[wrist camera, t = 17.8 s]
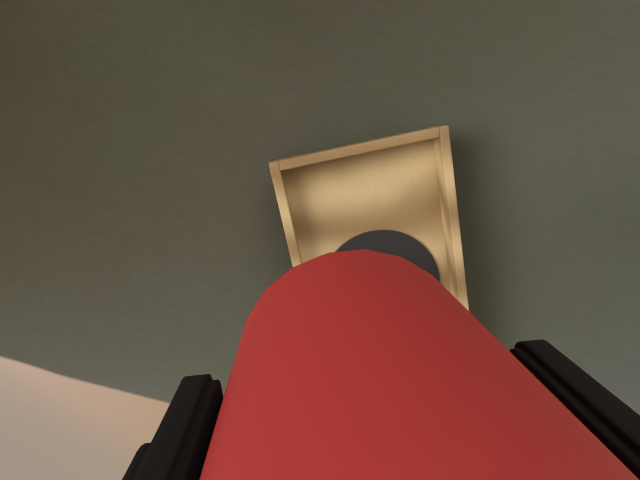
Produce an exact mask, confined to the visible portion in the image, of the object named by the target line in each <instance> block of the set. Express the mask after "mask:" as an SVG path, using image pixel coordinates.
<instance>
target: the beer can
mask: <svg viewBox="0 0 640 480" xmlns="http://www.w3.org/2000/svg"><path fill="white" fill-rule="evenodd" d="M200 480H639V479H638V478H637V477H636V476H635V475H634V474H633V473H632V472H631V471H630V470H629V469H628V468H627V467H626V466H625V465H624V464H623V463H622V462H621V461H620V460H619V459H618V458H617V457H616V456H615V455H614V454H613V453H612V452H611V451H610V450H609V449H608V448H607V447H606V446H605V445H604V444H603V443H602V442H601V441H600V440H599V439H598V438H597V437H596V436H595V435H594V434H592V433H591V432H590V431H589V430H588V429H587V428H586V427H585V426H584V425H583V424H582V423H581V422H580V421H579V420H578V419H577V418H576V417H575V416H574V415H573V414H572V413H571V412H570V411H569V410H568V409H567V408H566V407H565V406H564V405H563V404H562V403H561V402H560V401H559V400H558V399H557V398H556V397H555V396H554V395H553V394H552V393H551V392H550V391H549V390H548V389H547V388H546V387H545V386H544V385H543V384H542V383H541V382H540V381H539V380H538V379H537V378H536V377H535V376H534V375H533V374H532V373H531V372H530V371H529V370H528V369H527V368H526V367H525V366H524V365H523V364H522V363H521V362H520V361H519V360H518V359H517V358H516V357H515V356H514V355H513V354H512V353H511V352H510V351H509V350H508V349H507V348H506V347H505V346H504V345H503V344H502V343H501V342H500V341H499V340H497V339H496V338H495V337H494V336H493V335H492V334H491V333H490V332H489V331H488V330H487V329H486V328H485V327H484V326H483V325H482V324H481V323H480V322H479V321H478V320H477V319H476V318H475V317H474V316H473V315H472V314H471V313H470V312H469V311H468V310H467V309H466V308H465V307H464V306H463V305H462V304H461V303H460V302H459V301H458V300H457V299H456V298H455V297H454V296H453V295H452V294H451V293H450V292H449V291H448V290H447V289H446V288H445V287H444V286H443V285H442V284H441V283H440V282H439V281H438V280H437V279H436V278H435V277H434V276H433V275H431V274H430V273H428V272H426V271H425V270H423V269H421V268H420V267H418V266H416V265H415V264H413V263H411V262H410V261H408V260H406V259H405V258H403V257H399V256H395V255H390V254H386V253H381V252H377V251H372V250H367V249H363V250H352V251H341V252H330V253H326V254H324V255H321V256H319V257H316V258H314V259H312V260H309V261H307V262H304V263H302V264H299V265H297V266H295V267H292V268H291V269H290V270H289V271H288V272H287V273H285V274H284V275H283V276H282V277H281V278H279V279H278V280H277V281H276V282H275V283H273V284H272V285H271V286H270V287H269V288H268V289H266V290H265V291H264V293H263V294H262V296H261V298H260V299H259V301H258V302H257V304H256V306H255V307H254V309H253V311H252V312H251V314H250V316H249V317H248V319H247V320H246V323H245V327H244V330H243V333H242V337H241V340H240V344H239V347H238V350H237V354H236V357H235V361H234V364H233V367H232V371H231V374H230V378H229V381H228V384H227V388H226V391H225V395H224V398H223V401H222V405H221V408H220V412H219V415H218V418H217V422H216V425H215V429H214V432H213V435H212V439H211V442H210V446H209V449H208V452H207V456H206V459H205V463H204V466H203V469H202V473H201V476H200Z"/></svg>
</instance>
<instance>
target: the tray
mask: <svg viewBox="0 0 640 480" xmlns="http://www.w3.org/2000/svg"><path fill="white" fill-rule="evenodd" d="M269 168H270V172H271V176H272V180H273V185H274V189H275V193H276V198H277V202H278V206H279V210H280V215H281V219H282V223H283V227H284V232H285V236H286V240H287V244H288V249H289V253H290V257H291V261H292V266H293V267H295V266H297V265H299V264H302V263H304V262H307V261H309V260H312V259H314V258H316V257H319V256H321V255H324V254H326V253H330V252H341V251H352V250H363V249H367V250H372V251H377V252H381V253H386V254H390V255H395V256H399V257H403V258H405V259H406V260H408V261H410V262H411V263H413V264H415V265H416V266H418V267H420V268H421V269H423V270H425V271H426V272H428V273H430V274H431V275H433V276H434V277H435V278H436V279H437V280H438V281H439V282H440V283H441V284H442V285H443V286H444V287H445V288H446V289H447V290H448V291H449V292H450V293H451V294H452V295H453V296H454V297H455V298H456V299H457V300H458V301H459V302H460V303H461V304H462V305H463V306H464V307H465V308H466V309H467V310H468V311H469V307H468V298H467V289H466V280H465V271H464V262H463V252H462V243H461V234H460V225H459V216H458V207H457V198H456V189H455V180H454V171H453V162H452V153H451V144H450V135H449V126H448V125H444V126H435V127H430V128H425V129H421V130H416V131H411V132H406V133H402V134H397V135H392V136H387V137H383V138H378V139H373V140H368V141H364V142H359V143H354V144H349V145H345V146H340V147H335V148H331V149H326V150H321V151H316V152H312V153H307V154H302V155H297V156H293V157H288V158H283V159H278V160H274V161H271V162H270V163H269Z"/></svg>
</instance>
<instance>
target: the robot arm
mask: <svg viewBox="0 0 640 480" xmlns="http://www.w3.org/2000/svg"><path fill="white" fill-rule="evenodd" d="M510 352H511V353H512V354H513V355H514V356H515V357H516V358H517V359H518V360H519V361H520V362H521V363H522V364H523V365H524V366H525V367H526V368H527V369H528V370H529V371H530V372H531V373H532V374H533V375H534V376H535V377H536V378H537V379H538V380H539V381H540V382H541V383H542V384H543V385H544V386H545V387H546V388H547V389H548V390H549V391H550V392H551V393H552V394H553V395H554V396H555V397H556V398H557V399H558V400H559V401H560V402H561V403H562V404H563V405H564V406H565V407H566V408H567V409H568V410H569V411H570V412H571V413H572V414H573V415H574V416H575V417H576V418H577V419H578V420H579V421H580V422H581V423H582V424H583V425H584V426H585V427H586V428H587V429H588V430H589V431H590V432H591V433H592V434H594V435H595V436H596V437H597V438H598V439H599V440H600V441H601V442H602V443H603V444H604V445H605V446H606V447H607V448H608V449H609V450H610V451H611V452H612V453H613V454H614V455H615V456H616V457H617V458H618V459H619V460H620V461H621V462H622V463H623V464H624V465H625V466H626V467H627V468H628V469H629V470H630V471H631V472H632V473H633V474H634V475H635V476H636V477H637V478H638V479H639V480H640V416H639V415H638V414H637V413H636V412H634V411H633V410H632V409H631V408H629V407H628V406H627V405H626V404H624V403H623V402H622V401H621V400H619V399H618V398H617V397H616V396H614V395H613V394H612V393H611V392H609V391H608V390H607V389H606V388H604V387H603V386H602V385H601V384H600V383H598V382H597V381H596V380H595V379H593V378H592V377H591V376H590V375H588V374H587V373H586V372H585V371H583V370H582V369H581V368H580V367H578V366H577V365H576V364H575V363H573V362H572V361H571V360H570V359H568V358H567V357H566V356H565V355H563V354H562V353H561V352H560V351H558V350H557V349H556V348H555V347H553V346H552V345H551V344H550V343H548V342H547V341H545V340H531V341H522V342H517V343H516V345H515V347H514V349H511V350H510ZM222 401H223V394H222V388H221V383H220V381H219V380H212V377H211V375H210V374H205V375H195V376H186V377H184V378H183V379H182V381H181V383H180V385H179V387H178V389H177V391H176V393H175V395H174V397H173V399H172V401H171V403H170V405H169V407H168V409H167V412H166V414H165V415H164V418H163V420H162V422H161V424H160V426H159V428H158V430H157V432H156V434H155V436H154V438H153V440H152V442H151V443H145V444H143V445H142V446H141V447H140V448H139V450H138V451H137V452H136V454H135V456H134V458H133V460H132V462H131V464H130V466H129V468H128V470H127V471H126V473H125V475H124V477H123V479H122V480H200V476H201V473H202V469H203V466H204V463H205V459H206V456H207V452H208V449H209V446H210V442H211V439H212V435H213V432H214V429H215V425H216V422H217V418H218V415H219V412H220V408H221V405H222Z"/></svg>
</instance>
